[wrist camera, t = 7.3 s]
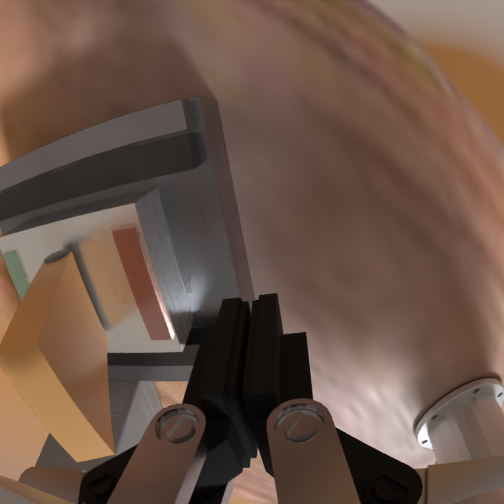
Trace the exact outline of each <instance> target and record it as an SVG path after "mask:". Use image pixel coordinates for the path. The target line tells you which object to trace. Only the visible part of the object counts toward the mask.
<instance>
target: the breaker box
mask: <svg viewBox="0 0 504 504" xmlns="http://www.w3.org/2000/svg"><path fill="white" fill-rule="evenodd" d="M0 227H1V230H2V233H3V235H1V236H0V249H1V252H2V256H3V259H4V262H5V264H6V267H7V269H8V272H9V274H10V276H11V279H12V281H13V284H14V286H15V288H16V290H17V293H18V295H19V297H20V299H21V301H22V299H23V297H24V295H25V293H26V291H27V289H28V288H29V286H30V284H31V282H32V280H33V279H34V277H35V275H36V273H37V272H38V270H39V268H40V267H41V265H42V263H43V261H44V259H45V258H46V257H47V256H49V255H50V254H52V253H54V252H57V251H59V250H63V249H68V250H69V252H70V251H72V253H73V256H74V259H75V261H76V264H77V267H78V269H79V272H80V275H81V277H82V280H83V282H84V285H85V287H86V290H87V292H88V294H89V297H90V299H91V302H92V304H93V306H94V308H95V311H96V313H97V315H98V318H99V320H100V322H101V324H102V326H103V328H104V331H105V333H106V335H107V365H108V379H113V380H134V381H189V378H190V375H191V371H192V368H193V365H194V361H195V358H196V355H197V351H198V348H199V345H200V343H201V342H202V341H212V338H213V334H214V330H215V326H216V322H217V319H218V315H219V311H220V307H221V303H222V300H223V299H228V298H237V297H241V299H242V302H243V301H248V303H249V306H250V311H252V302H253V300H255V297H254V292H253V287H252V282H251V277H250V272H249V266H248V261H247V256H246V251H245V246H244V241H243V235H242V230H241V225H240V220H239V215H238V209H237V204H236V199H235V194H234V188H233V183H232V178H231V173H230V167H229V162H228V157H227V151H226V146H225V141H224V135H223V130H222V125H221V119H220V114H219V109H218V103H217V101H216V100H212V99H209V98H205V97H201V96H197V97H193V98H189V99H185V100H183V99H180V100H176V101H172V102H168V103H165V104H161V105H157V106H154V107H150V108H147V109H143V110H140V111H137V112H133V113H130V114H127V115H124V116H121V117H118V118H115V119H112V120H109V121H106V122H103V123H100V124H98V125H95V126H92V127H89V128H87V129H84V130H81V131H79V132H76V133H74V134H71V135H69V136H66V137H64V138H61V139H59V140H57V141H54V142H52V143H50V144H47V145H45V146H43V147H40V148H38V149H36V150H34V151H32V152H30V153H27V154H25V155H23V156H21V157H19V158H17V159H15V160H13V161H11V162H9V163H7V164H5V165H3V166H1V167H0Z"/></svg>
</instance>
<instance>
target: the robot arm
mask: <svg viewBox="0 0 504 504" xmlns="http://www.w3.org/2000/svg"><path fill="white" fill-rule="evenodd" d="M503 400H504V387H503V385H502V384H501V382H500V381H499V380H497V379H494V378H485V379H479V380H476V381H473V382H470V383H468V384H466V385H463V386H461V387H460V388H458V389H456V390H454V391H453V392H451V393H449V394H448V395H446V396H445V397H444V398H442V399H441V400H439V401H438V402H437V403H436V404H435V405H434V406H432V407H431V408H430V409H429V410H428V411H427V412H426V413H425V414H424V416H423V417H422V418H421V420H420V421H419V423H418V425H417V427H416V430H415V436H416V439H417V442H418V444H419V445H420V446H422V447H425V448H431V449H432V448H433V451H434V454H435V457H436V460H437V461H436V462H435V464H434V465H428V466H427V468H422V469H413V468H412V467H410V466H409V465H407V464H405V463H402V462H400V461H398V460H396V459H394V458H392V457H390V456H388V455H386V454H384V453H382V452H380V451H378V450H377V449H375V448H373V447H371V446H369V445H367V444H365V443H363V442H361V441H360V440H358V439H356V438H354V437H352V436H350V435H349V434H347V433H345V432H343V431H341V430H340V429H338V428H336V427H335V425H334V422H333V419H332V416H331V414H330V412H329V411H328V409H327V408H326V407H325V406H324V405H323V404H321V403H320V402H317V401H315V400H313V394H312V384H311V374H310V365H309V356H308V347H307V338H306V332H301V333H292V334H283V328H282V321H281V315H280V308H279V301H278V295H277V293H274V294H265V295H259V300H253V302H252V311H250V306H249V303H248V301H243V302H242V299H241V297H237V298H228V299H223V300H222V303H221V307H220V311H219V315H218V319H217V322H216V326H215V330H214V334H213V338H212V341H202V342H201V343H200V345H199V348H198V351H197V355H196V358H195V361H194V365H193V368H192V371H191V375H190V378H189V382H188V385H187V388H186V392H185V395H184V399H183V402H182V404H175V405H170V406H168V407H166V408H164V409H162V410H160V411H159V412H158V413H157V414H156V415H155V416H154V417H153V419H152V420H151V422H150V423H149V425H148V427H147V429H146V431H145V433H144V435H143V436H142V438H141V440H140V442H139V443H138V444H137V445H135V446H133V447H131V448H130V449H128V450H126V451H124V452H122V453H121V454H119V455H117V456H115V457H113V458H111V459H110V460H108V461H106V462H104V463H102V464H100V465H98V466H96V467H94V468H93V469H91V470H90V471H89V472H85V471H84V470H83V469H64V468H49V467H37V466H36V467H30V468H28V469H26V470H25V471H24V472H23V473H22V474H21V476H20V478H19V481H15V480H13V479H10V478H7V477H3V476H0V504H228V503H229V500H230V496H231V493H232V490H233V487H234V480H235V479H234V478H235V477H236V476H238V475H239V474H240V473H242V471H243V468H250V458H256V457H257V450H258V449H259V452H260V455H261V458H262V461H263V464H264V467H265V470H266V472H267V473H269V474H270V475H271V476H272V477H274V479H275V486H276V492H277V498H278V504H504V413H503V411H502V409H501V407H500V406H501V405H502V402H503Z"/></svg>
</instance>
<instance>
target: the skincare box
mask: <svg viewBox="0 0 504 504" xmlns="http://www.w3.org/2000/svg"><path fill="white" fill-rule="evenodd" d="M108 387H109V402H110V415H111V425H112V435H113V443H114V451H115V454H114V455H110V456H105V457H101V458H96V459H92V460H87V461H82V462H76V461H75V460H74V459H73V458H72V457H71V456H70V454H69V453H68V452H67V451H66V450H65V449H64V448H63V447H62V446H61V445H60V444H59V443H58V442H57V440H56V439H55V438H54V437H53V436H52V435H51V434H50V433H49V435H48V437H47V440H46V442H45V444H44V446H43V449H42V451H41V453H40V456H39V458H38V461H37V463H36V465H35V467H36V466H37V467H49V468H64V469H83V470H84V471H85V472H89V471H90V470H91V469H93V468H94V467H96V466H98V465H100V464H102V463H104V462H106V461H108V460H110V459H111V458H113V457H115V456H117V455H119V454H121V453H122V452H124V451H126V450H128V449H130V448H131V447H133V446H135V445H137V444H138V443H139V442H140V440H141V438H142V436H143V435H144V433H145V431H146V429H147V427H148V425H149V423H150V422H151V420H152V419H153V417H154V416H155V415H156V414H157V413H158V412H159V411H160V410H162V409H163V407H162V404H161V402H160V399H159V396H158V393H157V390H156V387H155V383H154V381H134V380H113V379H108Z"/></svg>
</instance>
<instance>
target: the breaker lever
mask: <svg viewBox="0 0 504 504" xmlns="http://www.w3.org/2000/svg"><path fill="white" fill-rule="evenodd" d="M0 367H1V368H2V370H3V372H4V373H5V375H6V376H7V378H8V379H9V380H10V382H11V383H12V385H13V386H14V388H15V389H16V390H17V392H18V393H19V395H20V396H21V397H22V399H23V400H24V401H25V403H26V404H27V405H28V407H29V408H30V409H31V410H32V412H33V413H34V414H35V416H36V417H37V418H38V419H39V420H40V422H41V423H42V424H43V425H44V427H45V428H46V429H47V430H48V431H49V432H50V434H51V435H52V436H53V437H54V438H55V439H56V440H57V442H58V443H59V444H60V445H61V446H62V447H63V448H64V449H65V450H66V451H67V452H68V453H69V454H70V456H71V457H72V458H73V459H74V460H75V461H76V462H82V461H87V460H92V459H96V458H101V457H105V456H110V455H114V454H115V451H114V443H113V435H112V425H111V415H110V402H109V387H108V365H107V335H106V333H105V331H104V328H103V326H102V324H101V322H100V320H99V318H98V315H97V313H96V311H95V308H94V306H93V304H92V302H91V299H90V297H89V294H88V292H87V290H86V287H85V285H84V282H83V280H82V277H81V275H80V272H79V269H78V267H77V264H76V261H75V259H74V256H73V253H72V251H70V252H69V250H68V249H63V250H59V251H57V252H54V253H52V254H50V255H49V256H47V257H46V258H45V259H44V261H43V263H42V265H41V267H40V268H39V270H38V272H37V273H36V275H35V277H34V279H33V280H32V282H31V284H30V286H29V288H28V289H27V291H26V293H25V295H24V297H23V299H22V301H21V303H20V304H19V306H18V308H17V310H16V312H15V314H14V316H13V318H12V320H11V322H10V325H9V327H8V329H7V331H6V333H5V335H4V337H3V340H2V342H1V344H0Z"/></svg>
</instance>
